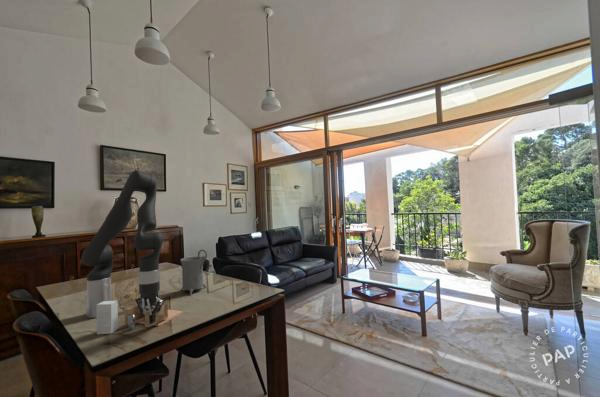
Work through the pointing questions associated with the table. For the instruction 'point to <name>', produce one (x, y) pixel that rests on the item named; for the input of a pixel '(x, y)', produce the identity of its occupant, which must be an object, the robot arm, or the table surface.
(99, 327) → the skincare box
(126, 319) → the c link
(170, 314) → the tile
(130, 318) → the post
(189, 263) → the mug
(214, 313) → the table surface
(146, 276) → the robot arm
